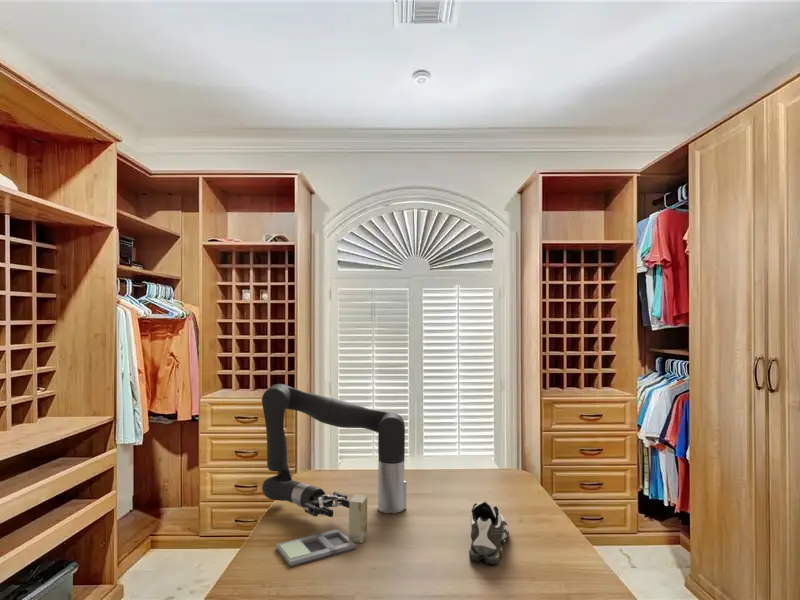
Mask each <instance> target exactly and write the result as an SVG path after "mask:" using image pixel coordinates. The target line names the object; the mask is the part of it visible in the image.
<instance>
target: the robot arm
mask: <svg viewBox="0 0 800 600" xmlns="http://www.w3.org/2000/svg"><path fill="white" fill-rule="evenodd" d="M261 404H262V409H263V410H262V411H263V415H264V420H265V422H264V423H265V430H266V465H267V469H268V470H269V471H270V472H277V474H276V475H274V476H271V477H269V478H268V477H267V478H266V479H265V480H264V481H263V482H262V485H261V490H262V493H263V495H264V497H266V498H267V499H269V500H271V501H272V500H273V501H280V502H283V501H284V502H289V503H291V504H294V505H297V507H299V508H301V509H302V508H303V509H304V513H307V514H309V515H311V516H313V517H318V516H319V515H320V516H326V517H329V518H332V517H334V510H333V509H332V508H337V507H339V506H340V507H344V508H348V509H349V502H350V500H349V499H348V494H344V493H340V492H337V491H334V492H333V493H332V494H331V495H330V494H326V492H325V490H323V488H321V487H318V486H316V485H312V484H308V483H303V482H301V481H298V480H293V478H292V475H291V472H290V468H289V464H288V442H287V438H286V434H285V426H284V425H285V423H284V421H285V414H286V413H285V412H286V410H291V411H297V412H299V413H300V412H301V413H303V414H305V415H307V416H309V417H311V418H312V419H314V420H316V421H318V422H320V423H323V424H325V425H330V426H333V427H337V428H346V429H365V430H369V431H372V432H376V433H378V434H377V435H378V436H377V437H378V438H377V440H378V441H377V444H378V446H377V448H378V449H377V450H378V454H377V455H378V464H377V465H378V467H377V469H378V471H377V472H378V473H377V474H378V475H377V477H378V480H377V481H378V482H377V483H378V484H377V485H378V486H377V489H378V490H377V493H378V494H377V496H378V497H377V509H378V510H379V512H381V513H383V514H384V513H385V514H389V513H393V514H398V512H399V513H401V512H403V511H404V510H406V509H407V500H408V499H407V497H408V496H407V493H408V492H407V489H408V488H407V485H408V484H407V481H406V480H405V457H406V456H405V455H406V453H405V452H406V448H405V446H406V445H405V442H406V440H405V439H406V427H405V425H406V424H405V420H404V418H403V417H402V416H401V415H400V414H398V413H396V412H392V411H385V410H379V409H378V410H377V409H372V408H369V407H368V408H367V407H364V406H361V405H359V404H355V403H351V402H348V401H346V400H341V399H337V398H333V397H328V396H325V395H320V394H317V393H316V394H315V393H310V392H306V391H302V390H300V389H298V388H294V387H292V386H289V385H287V384H285V383H284V384H283V383H275V384H272V385H271V386H270V387H269V388H267V389H266V390H265V391H264V392H263V394H262V397H261Z"/></svg>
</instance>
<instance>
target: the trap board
mask: <svg viewBox="0 0 800 600" xmlns="http://www.w3.org/2000/svg"><path fill="white" fill-rule="evenodd" d="M356 545H357V544H356V542H353V541H352V540H350V539H349V536H347V535H346V534H345V533H344V532H343V531H342V530H341V529H340V528H335V529H331V530H326V531H324V532H319V533H316V534H312V535H307V536H303V537H299V538H296V539H291V540H287V541H283V542H279V543H276V546H275V547H276V548H275V549H276V551H277V553H279V554H281V555H280V557H282V559H283V560H284V562H285V563H286V562H287V563H286V564H287V565H288V566H290V567H289V568H292V567H297V566H300V564H301V565H304V563H305V564H307V563H311V562H316V561H319V560H322V559H325V558H329V557H334V556H337V555H341V554H344V553H347V552H352V551H354V550H356V548H357V547H356Z"/></svg>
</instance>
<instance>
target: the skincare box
mask: <svg viewBox="0 0 800 600" xmlns="http://www.w3.org/2000/svg"><path fill="white" fill-rule="evenodd" d="M349 501H350V502H349V508H348V509H349V510H348V538H349V539H350V540H352V541H353V542H354V543H359V544H361V543H363V542H364V541H365V539H366V537H367V534H368V495H363V494H362V495H360V494H354V495H353V496H352V497H351V499H350V500H349Z"/></svg>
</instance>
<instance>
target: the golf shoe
mask: <svg viewBox="0 0 800 600" xmlns="http://www.w3.org/2000/svg"><path fill="white" fill-rule="evenodd" d="M470 512H471V514H470V524H471V525H470V526H471V531H470V538H471V543H470V547H469V550H468V558H469V561H470V562H473V561H476V562H475V563H479V562H481V560H482V559H483V560H484V561H485V563H486V565H492V564H493V565H495V564H496V563H497V564H498V562H499V561H500V560H501V559H500V557H501V556H502V555H503V547H502V545H503V544H504V543H505V542H504V540H505V541H506V540H508V539H509V535H510V532H509V528H508V527H509V526H508V523H507V521H506V520H505V518H504V517H503V515H502V514H501V513H500V512H499V507H497V505H496V506H494V507H493V506H492V505H491V504H490V503H489V502H488V501H485V500H484V501H481V502H479V503H474V504H473V505H472V508H471V511H470ZM501 558H502V557H501Z"/></svg>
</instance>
